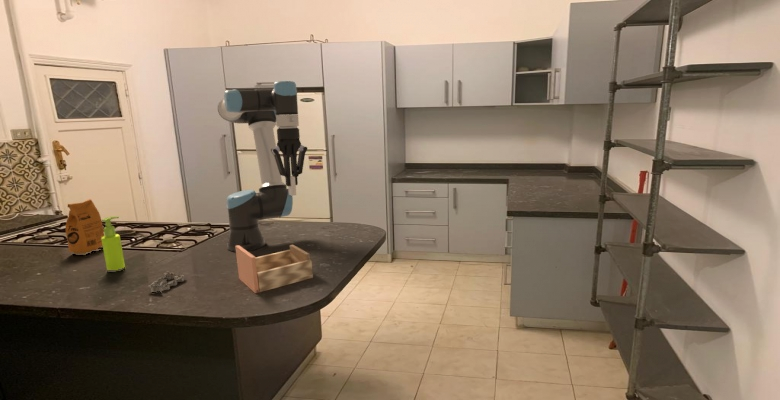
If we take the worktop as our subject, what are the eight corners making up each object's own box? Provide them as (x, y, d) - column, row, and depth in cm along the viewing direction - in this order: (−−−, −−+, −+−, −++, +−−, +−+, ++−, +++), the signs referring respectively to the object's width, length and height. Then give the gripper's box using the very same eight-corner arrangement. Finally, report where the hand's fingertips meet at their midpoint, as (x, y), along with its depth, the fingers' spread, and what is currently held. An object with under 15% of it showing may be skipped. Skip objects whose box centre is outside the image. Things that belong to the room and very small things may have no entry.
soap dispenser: (131, 267, 170) (122, 215, 166) (115, 273, 164) (105, 220, 160) (120, 265, 172) (111, 215, 168) (103, 272, 166) (93, 219, 162)
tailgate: (242, 277, 152) (238, 245, 149) (259, 292, 139) (255, 256, 136) (239, 278, 151) (235, 245, 148) (255, 293, 138) (251, 257, 136)
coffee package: (65, 255, 188) (55, 204, 183) (92, 246, 200) (83, 198, 195) (83, 257, 185) (73, 205, 181) (110, 247, 197) (101, 198, 192)
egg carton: (170, 281, 155) (169, 270, 154) (188, 282, 153) (187, 271, 152) (146, 293, 145) (144, 281, 144) (165, 295, 143) (163, 283, 142)
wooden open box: (293, 267, 162) (291, 243, 160) (313, 280, 149) (310, 254, 147) (243, 280, 152) (240, 254, 150) (260, 295, 139) (257, 267, 137)
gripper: (274, 128, 148) (279, 198, 152) (310, 126, 155) (314, 193, 160) (265, 128, 153) (270, 195, 158) (300, 126, 161) (304, 191, 166)
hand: (292, 194), depth 159 cm, fingers closed
